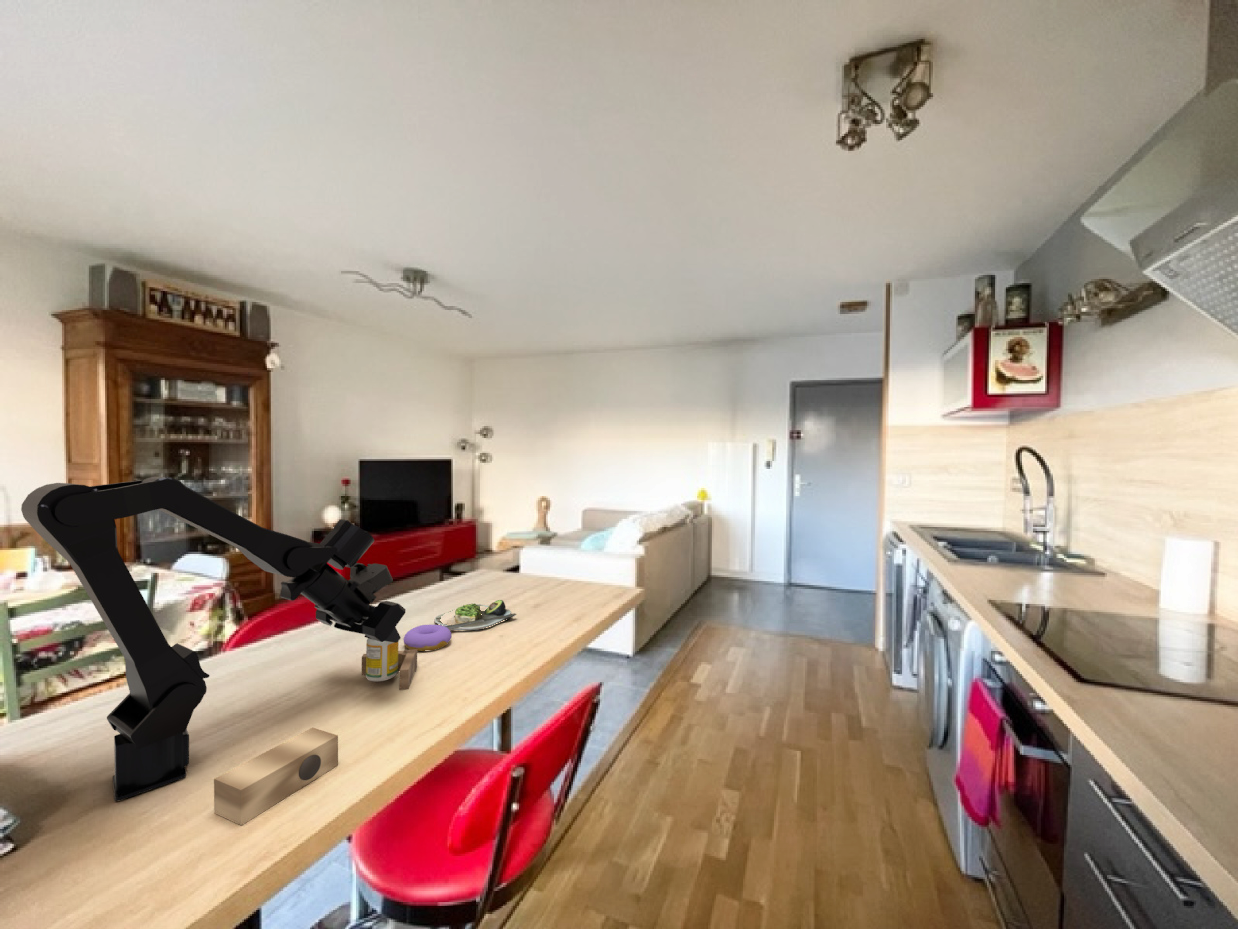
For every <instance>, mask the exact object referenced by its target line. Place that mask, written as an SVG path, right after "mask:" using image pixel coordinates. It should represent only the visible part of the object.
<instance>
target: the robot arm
mask: <svg viewBox="0 0 1238 929" xmlns="http://www.w3.org/2000/svg"><path fill="white" fill-rule="evenodd" d="M20 510H21V513H22V516H23V519H24V520H25V522H26V523H27V524H29V525H30V527H31V528H32V529H34V530H35V532H36V533H37V534H38V535H39V536H40V537H41V538H42V539H43V541H45V542H46V543H47V544H48V545H49V546H50V547H51V548H52V549H54V550H55V551H56V552H57V553H58V554H59V555H61V557H62V558H64V559H65V560H66V561H67V562H68V564H70V567H71V568H72V569H73V572H74V573H75V575H76V577H77V579H78V580H79V582H80V583H81V585H82V587H83V588H84V590H85V592H86V594H87V596H88V597H89V599H90V600H91V603H92V605H93V606H94V607H95V610H96V611H97V612H98V615H99V616H100V618H101V620H102V621H103V623H104V624H105V627H106V628H107V630H108V632H109V633H110V635H111V637H112V639H113V640H114V642H115V644H116V646H117V647H118V649H119V651H120V653H121V654H122V656H123V658H124V664H125V667H124V668H125V679H126V684H127V687H128V690H129V693H128V694H127V695H126V697H124V698H123V700H122V701H121V702H120V703H118V705H117V706H116V707H114V709H113V710H111V712H110V713H109V714H108V715H107V716H106V720H107V722H108V723H109V725H110V727H111V728H112V729H113V731H116V732H118V734H116V735H114V736H113V738H114V740H113V741H114V746H113V748H114V750H113V752H114V754H113V755H114V757H113V758H114V775H113V776H112V787H113V795H114V801H115V802H119V801H122V800H126V799H128V798H131V797H133V796H137V795H139V794H142V793H145V792H148V791H150V790H154V789H157V788H159V787H162V786H165V785H168V784H171V783H174V782H176V781H179V780H181V779H184V778H185V777H187V770H186V767H188V765H190V735H189V731H188V725H189V724H190V721H191V718H192V716H193V713H194V711H195V709H196V708H197V707H198V706H199V704H200V703H201V702H202V700H203V699H204V696H205V695H206V693H207V689H208V688H207V684H206V681H205V679H208V678H209V677H210V674H209V673H207V672H206V671H204V670H203V669H202V666H201V662H200V658H199V656H198V654H197V651H195V650H193V649H191V648H189V647H186V646H184V645H182V644H180V643H178V642H177V643H176V642H175V644H174V645H172V646H171V645H170V644H169V643H168V640H167V638H166V637H165V635H164V633H163V632H162V629H161V628H160V625H159V624H158V622H157V620H156V618H155V617H154V615H153V613H152V611H151V609H150V608H149V606H148V604H147V602H146V599H145V598H144V596H143V594H142V592H141V591H140V588H139V587H138V585H137V583H136V581H135V580H134V578H133V576H132V574H131V573H130V570H129V569H128V567H127V565H126V563H125V561H124V560H123V557H122V556H121V554H120V552H119V549H118V548H119V547H118V533H117V532H118V531H117V525H116V521H115V520H117V519H118V520H119V519H123V518H128V517H132V516H133V517H134V516H136V515H140V514H143V513H148V512H151V511H155V510H157V511H161V512H163V513H165V514H167V515H169V516H171V517H173V518H175V519H177V520H179V521H181V522H183V523H186V524H187V525H189V526H191V527H194V528H196V529H197V530H200V531H202V532H204V533H206V534H208V535H211V536H212V537H214V538H217V539H218V540H220V541H222V542H224V543H227V544H228V545H231V546H232V547H234V548H236V549H237V550H238V551H240V552H241V553H242V554H243V556H245V557H246V558H247V560H249V561H250V562H251V563H253V564H254V565H255V566H257V567H259V569H261V570H262V571H264V572H267V573H271V574H275V575H279V576H283V577H288V578H290V579H288V580H287V581H285V580H284V581H281V582H280V585H281V589H280V593H279V596H280V598H282V599H285V600H289V601H295V600H297V598H298V597H299V596H300V595H302V596H303V597H305V598H306V599H307V600H309V601H310V602H311V603H313V604H314V606H313V607H314V608H315V609H316V610H315V619H316V620H317V621H319V622H321V624H323V625H326V626H330V627H332V625H333V624H334V625H333V627H334V628H335V629H338V630H342V631H346V632H350V633H351V632H352V633H355V634H362V635H364V638H366V639H368V638H369V639H372V640H376V641H380V642H383V641H388V642H395V643H397V642H398V641H400V640H401V635H400V633H399V632H398V630H397V626H398V624H399V623H400V621H401V620H402V618H403V617H404V615H405V614H406V608H404V606H402V605H401V604H400V603H398V602H394V601H389V600H384V601H380V602H379V603H378V604H377V606H375V605H372V604H373V602H375V600H376V599H377V596H376V595H375V594H376V593H378V592H379V591H380V590H382V589H383V588H385V587H386V586H387V585H390V584H392V582H394V581H393V577H392V574H391V573H390V570H389V568H388V566H387V565H386V564H380V563H372V564H371V563H368V564H366V565H367V566H366V565H365V564H364V563H361V562H359V560H360V559H361V558H362V556H364V554H365V553H366V552H367V551H368V549H369V548H370V547H371V546H372V544H373V543H375V538H374V537H373V535H372V534H370V532H369V531H367V530H364V529H362V528H361V527H359V526H357V525H355V524H354V523H352V522H350V521H349V520H347V519H339V520H338V521H337V522H336V523H335V524H334V526H333V528H332V529H331V530H330V531H329V533H328V534H327V535H326V536H325V537H324V538H323V539H322V540H321V542H320V543H317V542H312V541H307V540H304V539H301V538H298V537H296V536H292V535H288V534H287V533H284V532H283V533H282V532H279V531H275V530H271V529H269V528H267V527H266V528H265V527H262V526H261V525H259V524H257V523H254V522H253V521H251V520H249V519H247V518H245V517H243V516H242V515H240V514H238V513H236V512H234V511H232V510H230V509H228V508H227V507H225V506H223V505H221V504H219V503H218V502H215V501H214V500H212V499H210V498H208V497H207V496H204V495H203V494H201V493H198V492H197V491H195V490H193V489H191V488H189V487H187V486H186V485H185V484H184V483H183V482H182V481H181V480H179V479H176V478H174V477H165V476H164V477H163V476H151V477H147V478H145V479H138V480H133V481H123V482H116V483H108V484H107V483H106V484H98V485H91V486H88V485H86V484H77V483H70V482H69V483H67V482H55V483H49V484H48V483H47V484H45V485H42V486H39V487H37V488H35V489H34V490H32V491H31V492H30V493H29V494H27V496H26V497H25V498H24V500H23V502H22V503H21V508H20ZM334 568H335V569H334ZM345 568H350V571H349V573H350V574H349V579H347V578H345V577H344V576H343V575H342V574H341V573H340V572H338V571H337V570H336V569H338V570H342V571H343V570H344V569H345Z"/></svg>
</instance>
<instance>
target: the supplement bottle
mask: <svg viewBox="0 0 1238 929" xmlns="http://www.w3.org/2000/svg"><path fill="white" fill-rule="evenodd" d="M399 641H400V640H399ZM399 641H398V642H397V643H395V642H388V641H383V642H380V641H376V640H372V639H369V638H366V645H365V646H366V648H365V649H366V650H365V652H366V653H365V654H366V675H365V677H366V679H367V680H368V681H370V682H382V681H383V682H384V681H387V680H390V679H392V678H394V677H396V675H398V673H399V672H398V651H399Z"/></svg>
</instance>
